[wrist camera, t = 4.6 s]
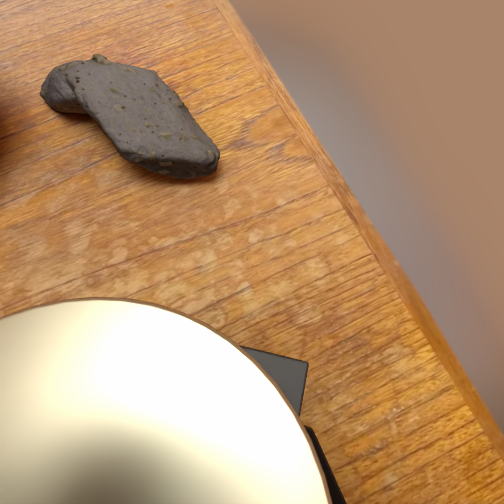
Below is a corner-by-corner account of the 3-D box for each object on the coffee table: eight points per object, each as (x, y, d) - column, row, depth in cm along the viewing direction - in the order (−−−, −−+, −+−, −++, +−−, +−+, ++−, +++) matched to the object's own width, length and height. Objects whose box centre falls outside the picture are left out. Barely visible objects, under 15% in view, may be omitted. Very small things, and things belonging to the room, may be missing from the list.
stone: (29, 95, 26) (37, 15, 23) (112, 105, 30) (126, 39, 28) (133, 208, 20) (158, 120, 18) (215, 199, 25) (244, 128, 23)
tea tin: (274, 548, 11) (382, 992, 3) (83, 558, 11) (-393, 1077, 3) (266, 354, 13) (317, 290, 5) (102, 359, 13) (-144, 300, 5)
